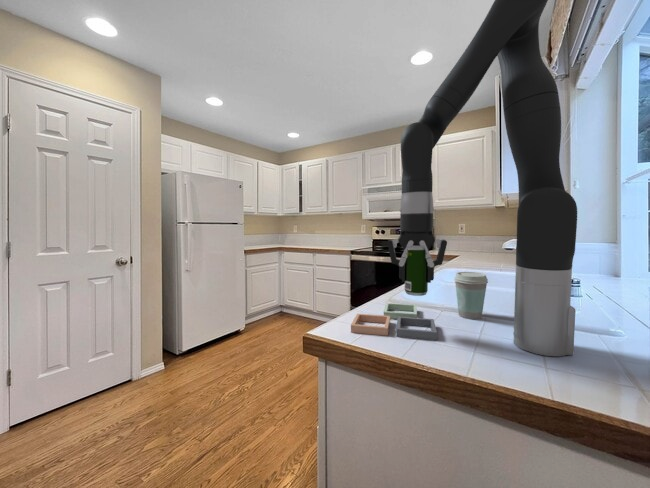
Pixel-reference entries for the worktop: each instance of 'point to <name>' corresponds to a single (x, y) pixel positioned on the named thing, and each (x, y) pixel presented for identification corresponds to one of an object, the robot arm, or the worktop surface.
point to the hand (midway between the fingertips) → (415, 281)
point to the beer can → (416, 271)
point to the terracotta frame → (371, 329)
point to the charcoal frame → (413, 332)
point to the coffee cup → (470, 293)
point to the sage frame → (400, 307)
